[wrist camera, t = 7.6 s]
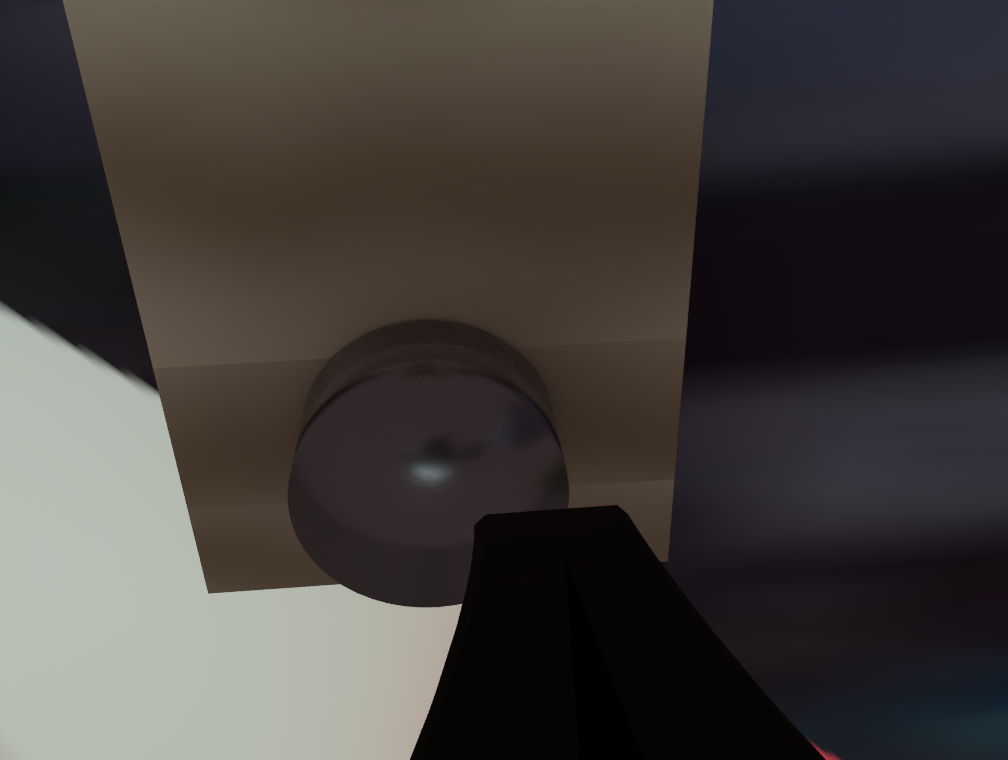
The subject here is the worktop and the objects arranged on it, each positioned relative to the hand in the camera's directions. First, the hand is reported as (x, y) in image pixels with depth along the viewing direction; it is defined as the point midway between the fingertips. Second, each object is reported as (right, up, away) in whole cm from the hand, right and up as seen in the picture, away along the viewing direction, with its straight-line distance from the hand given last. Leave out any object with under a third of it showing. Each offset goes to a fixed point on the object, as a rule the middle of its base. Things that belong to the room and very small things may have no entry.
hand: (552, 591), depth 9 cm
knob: (-2, +2, +10) cm, 10 cm away
